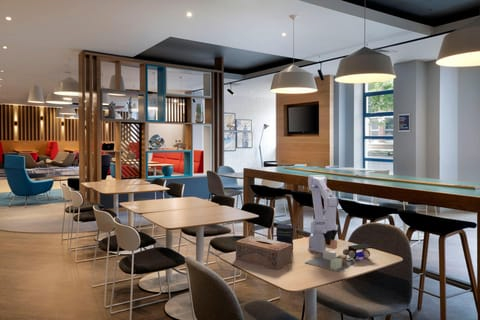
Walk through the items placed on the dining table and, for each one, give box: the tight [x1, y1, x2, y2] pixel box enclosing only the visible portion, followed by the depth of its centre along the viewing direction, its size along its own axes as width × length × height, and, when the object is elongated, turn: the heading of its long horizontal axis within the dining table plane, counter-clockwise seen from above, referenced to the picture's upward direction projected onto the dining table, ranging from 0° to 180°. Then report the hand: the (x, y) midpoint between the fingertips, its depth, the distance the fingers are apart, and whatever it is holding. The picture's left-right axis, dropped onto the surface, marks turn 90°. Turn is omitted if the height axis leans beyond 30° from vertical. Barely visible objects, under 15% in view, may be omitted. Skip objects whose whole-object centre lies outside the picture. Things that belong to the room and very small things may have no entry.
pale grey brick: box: [322, 250, 337, 260], centre depth 203 cm, size 6×3×4 cm, turn 50°
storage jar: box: [275, 223, 295, 255], centre depth 213 cm, size 10×10×15 cm
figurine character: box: [342, 243, 373, 261], centre depth 204 cm, size 7×8×15 cm
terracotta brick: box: [324, 239, 338, 250], centre depth 202 cm, size 6×3×4 cm, turn 50°
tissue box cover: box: [235, 235, 293, 271], centre depth 198 cm, size 26×14×10 cm, turn 54°
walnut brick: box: [336, 254, 348, 266], centre depth 195 cm, size 6×3×4 cm, turn 140°
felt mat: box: [304, 253, 356, 273], centre depth 198 cm, size 19×20×1 cm
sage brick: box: [330, 258, 342, 270], centre depth 189 cm, size 6×3×4 cm, turn 140°
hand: (329, 244), depth 202 cm, fingers closed on terracotta brick, 3 cm apart
